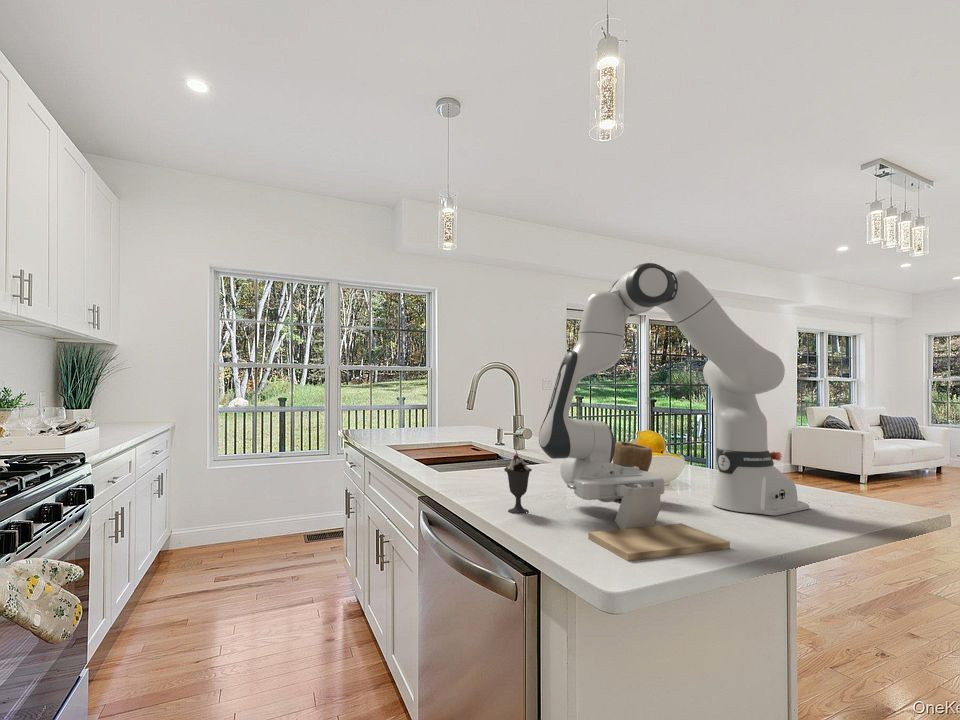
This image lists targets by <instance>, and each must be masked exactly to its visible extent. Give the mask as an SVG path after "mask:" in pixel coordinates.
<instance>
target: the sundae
mask: <svg viewBox="0 0 960 720" xmlns="http://www.w3.org/2000/svg"><path fill="white" fill-rule="evenodd" d="M513 449H514V451H515V454H514V455H513V458H512V459H511V460H510V463H509V466H505V467H504V472H506V473H507V478H508V479H507V480H508V487H509V492H510V493H511V494H512V495H513V497H515V505H514V506H513V507H512V508H509V509H508V511H507V512H508V513H510V512H511V513H510V514H514V513H525V514H527V513H526V512H528V511H529V510H528V509H527V508H524V507H523V505H522V501H521V500H522V497H523V496H524V495H525V494H526V493H527V490H528V485H529V477H530V472H531V471H533V469H532V468H530V467H528V465H526V463H525V461H524V459H523V458H522V457H519V455H518V451H517V449H516V447H514V448H513ZM528 513H529V512H528Z"/></svg>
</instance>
